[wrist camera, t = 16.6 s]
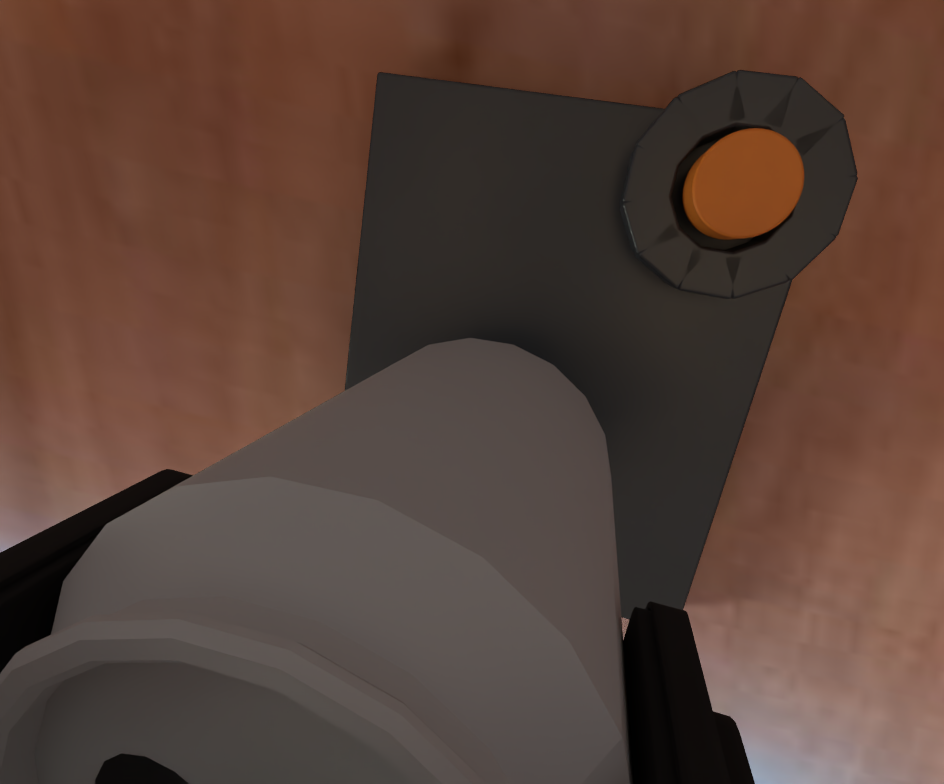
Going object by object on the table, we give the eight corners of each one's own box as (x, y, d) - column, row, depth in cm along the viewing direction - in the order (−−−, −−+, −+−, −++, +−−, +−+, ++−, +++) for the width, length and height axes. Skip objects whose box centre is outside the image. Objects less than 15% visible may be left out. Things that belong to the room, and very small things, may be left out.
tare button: (696, 134, 14) (708, 120, 12) (796, 148, 13) (821, 135, 12) (671, 231, 14) (679, 229, 13) (765, 247, 14) (785, 246, 13)
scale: (395, 62, 17) (356, 25, 14) (835, 116, 15) (891, 85, 12) (344, 518, 22) (307, 557, 19) (674, 609, 20) (688, 668, 17)
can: (328, 377, 17) (-247, 647, 5) (563, 296, 14) (453, 458, 3) (413, 588, 18) (99, 1174, 7) (642, 542, 16) (765, 1294, 4)
